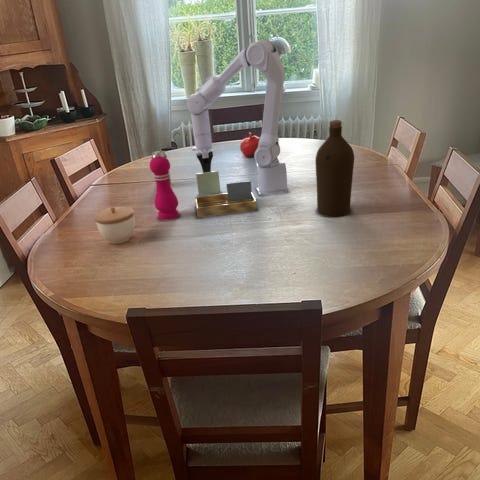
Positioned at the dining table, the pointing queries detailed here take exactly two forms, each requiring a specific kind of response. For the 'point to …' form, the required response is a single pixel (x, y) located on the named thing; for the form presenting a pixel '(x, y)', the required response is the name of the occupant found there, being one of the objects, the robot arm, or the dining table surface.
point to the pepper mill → (163, 188)
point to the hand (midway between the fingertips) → (207, 174)
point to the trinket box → (116, 224)
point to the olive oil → (334, 173)
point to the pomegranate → (249, 145)
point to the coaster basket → (222, 205)
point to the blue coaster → (239, 191)
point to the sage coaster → (208, 182)
